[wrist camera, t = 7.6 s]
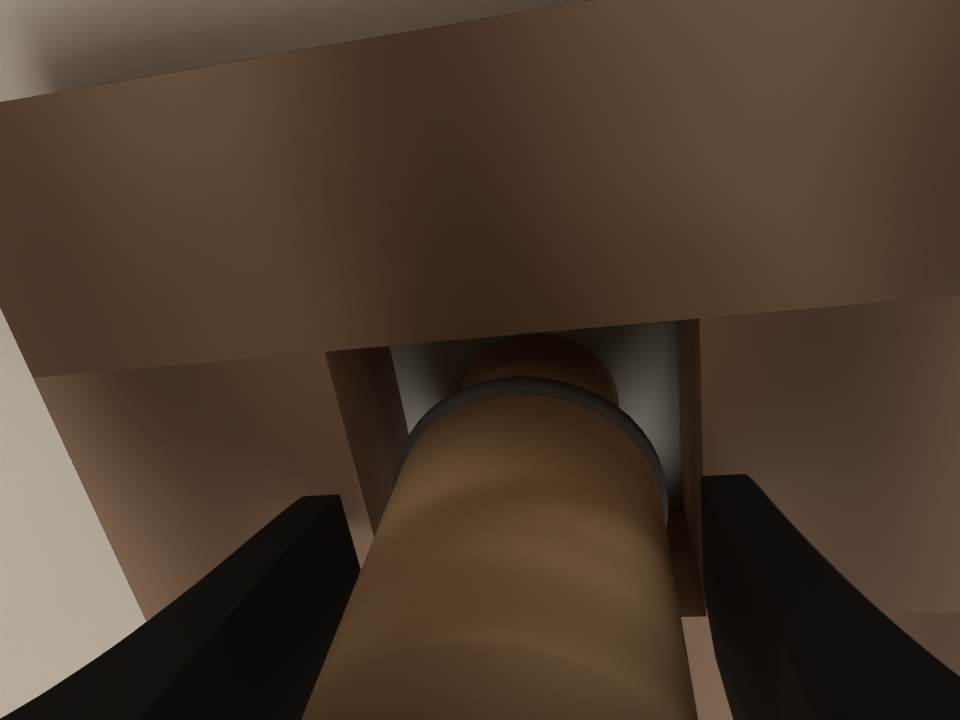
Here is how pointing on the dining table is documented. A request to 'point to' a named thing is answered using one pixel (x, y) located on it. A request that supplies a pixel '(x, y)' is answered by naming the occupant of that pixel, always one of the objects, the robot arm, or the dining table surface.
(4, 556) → the dining table surface
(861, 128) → the board
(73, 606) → the dining table surface
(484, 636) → the peg
